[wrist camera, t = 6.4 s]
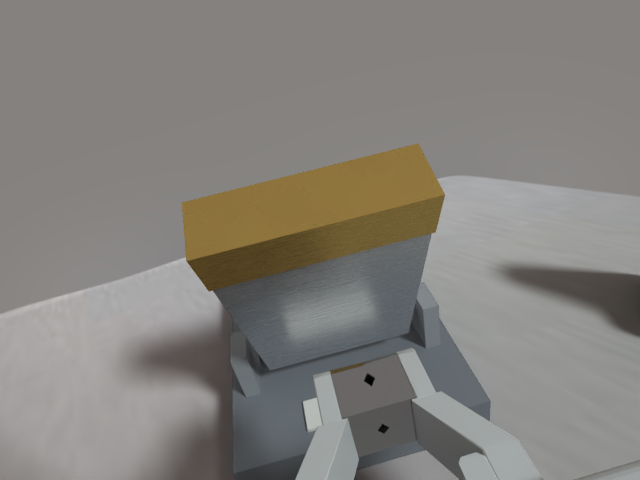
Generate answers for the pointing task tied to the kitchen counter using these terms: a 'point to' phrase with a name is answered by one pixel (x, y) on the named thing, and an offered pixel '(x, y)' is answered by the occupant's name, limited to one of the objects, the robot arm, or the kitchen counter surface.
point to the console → (301, 402)
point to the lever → (319, 253)
